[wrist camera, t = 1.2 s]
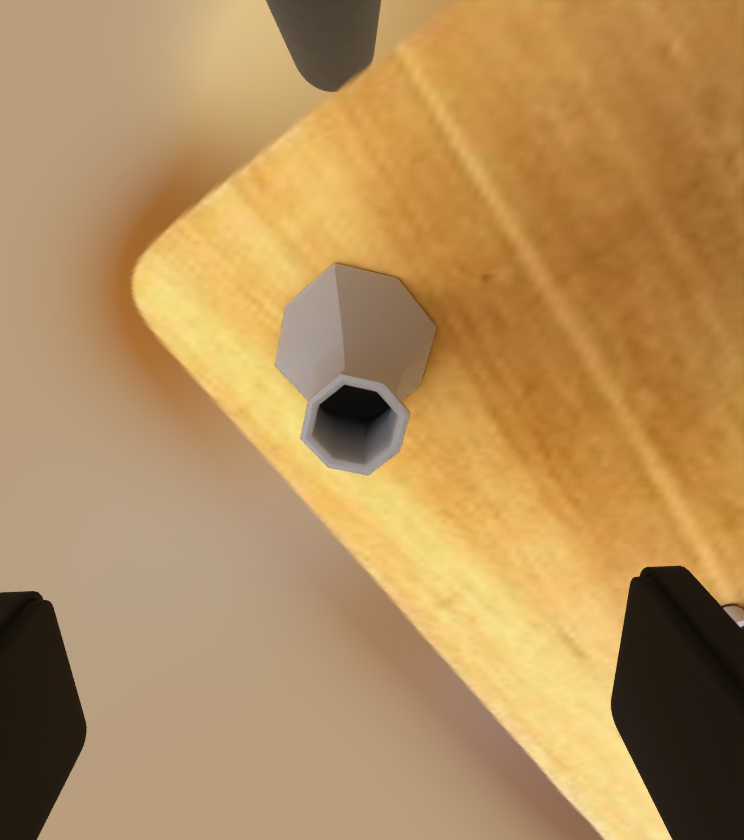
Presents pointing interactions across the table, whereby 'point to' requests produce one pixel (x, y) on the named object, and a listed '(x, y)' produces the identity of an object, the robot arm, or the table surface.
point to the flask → (354, 364)
